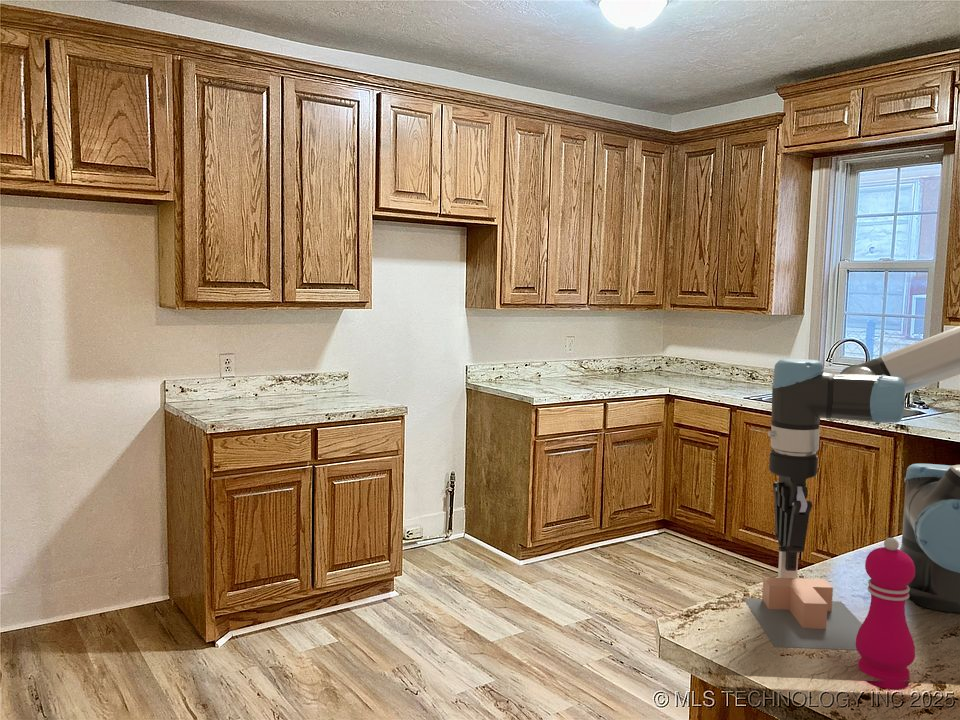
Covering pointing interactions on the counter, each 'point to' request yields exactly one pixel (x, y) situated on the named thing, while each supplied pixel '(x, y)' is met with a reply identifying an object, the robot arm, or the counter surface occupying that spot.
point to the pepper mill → (887, 618)
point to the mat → (793, 635)
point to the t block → (800, 599)
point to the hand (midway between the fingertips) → (787, 585)
